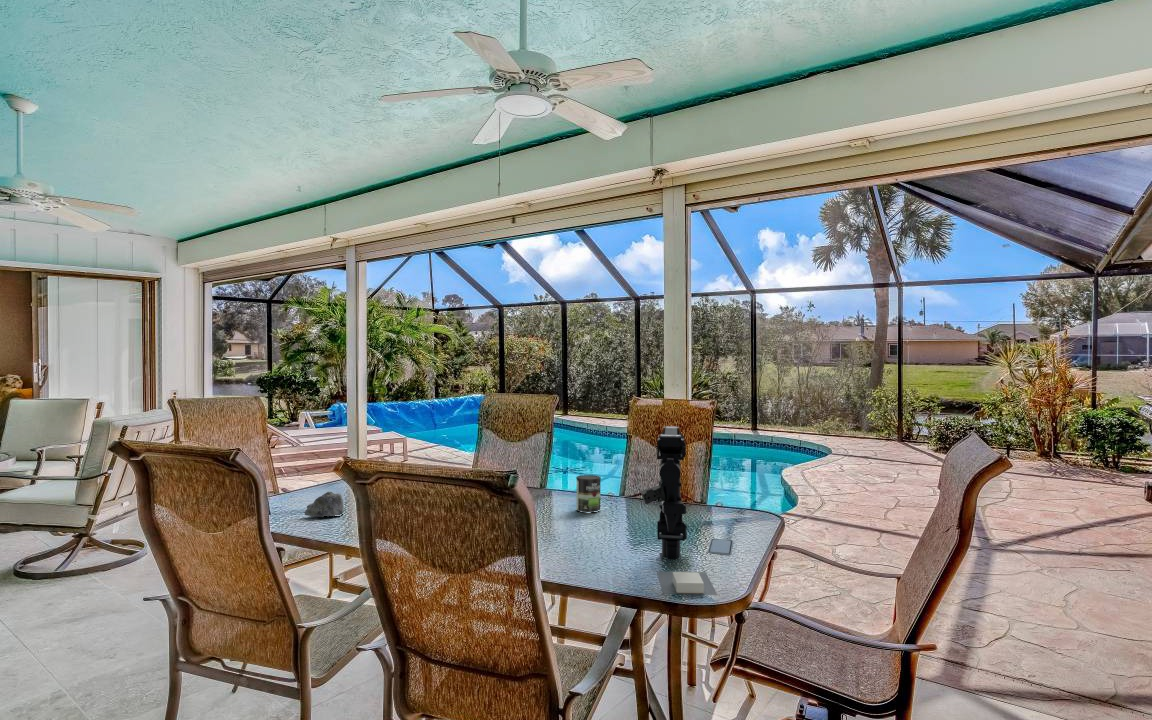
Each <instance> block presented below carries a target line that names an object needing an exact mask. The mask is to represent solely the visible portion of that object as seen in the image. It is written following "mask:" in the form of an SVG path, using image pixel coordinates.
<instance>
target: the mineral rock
mask: <svg viewBox="0 0 1152 720" xmlns="http://www.w3.org/2000/svg"><path fill="white" fill-rule="evenodd" d="M344 509H345V507H344V499H343V497H342V494H341V493H335V492H332V491H327V492H325V493H323V494H322V495H321V496H319V497H317V498H315V499H314V501H313V503H310V504H308V505H306V510H305V511H304V515H305V516H309V517H313V518H325V517H324V516H327V518H328V517H329V516H335V515H340V514H342V513H343V512H344V511H345V510H344ZM344 513H345V512H344Z"/></svg>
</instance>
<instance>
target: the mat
mask: <svg viewBox="0 0 1152 720" xmlns="http://www.w3.org/2000/svg"><path fill="white" fill-rule="evenodd" d="M673 572H674V571H663V570H662V571H659V570H658V571H656V573H657V577H658V581H659V584H660V588H661V590H662V594H663V595H691V594H690V593H677V592H676V589H675V586H674V584H673ZM697 572H698V573H699V575H700V577H701V579H702V581H703V583H704V593H702V594H701V595H703V596H704V595H708V596H709V595H713V596H714V595H715V596H717V595H718V593H717V591H716V589H715V587H714V586H713V584H712V582H711V580H710V578H709V576H708V574H707V572H706V571H697Z"/></svg>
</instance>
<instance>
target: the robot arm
mask: <svg viewBox="0 0 1152 720" xmlns="http://www.w3.org/2000/svg"><path fill="white" fill-rule="evenodd" d="M656 440H657V441H656V460H661V461H660V468H659V478H660V479H659V481H658V485H655V486H651V487H649V488H645V489H643V490H641V491H640V494H641V496H642V499H643V502H644V504H645V505H648V504H651V503H653V502H654V501H656V502H658V503H660V501H661V504H659V505H658V506H659V509H660V512H659V519H657V531H656V532H657V540H659V541H660V540H661V552H659V556H660V558H666V559H668V560H678V559H679V558H683V557H682V555H681V541H682V542H685V540H687V539H688V536H687V535H688V533H687V532H688V529H687V528H688V525H687V524H686V522H685V520H683V515H687V506H686V505H685V504H684V502H682V500H683V499H682V495H681V487H682V483H683V482H681V476H682V474H681V461H685V458H686V457H687V443H686V442H685V436H684V434H683V433H681V432H680V427H679V426H676V425H675V426H671V425H668V426H667V425H666V426H663V431H662V432H661V433H660V434H659V435H658V438H657V439H656Z"/></svg>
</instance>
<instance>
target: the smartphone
mask: <svg viewBox="0 0 1152 720" xmlns="http://www.w3.org/2000/svg"><path fill="white" fill-rule="evenodd" d="M733 544H734V540H732V539H725V538H724V539H723V538H711V539H710V543H709V546H708V549H707V553H708V554H711V553H712V554H713V555H722V556H731V555H732V552H733V546H734V545H733Z"/></svg>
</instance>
